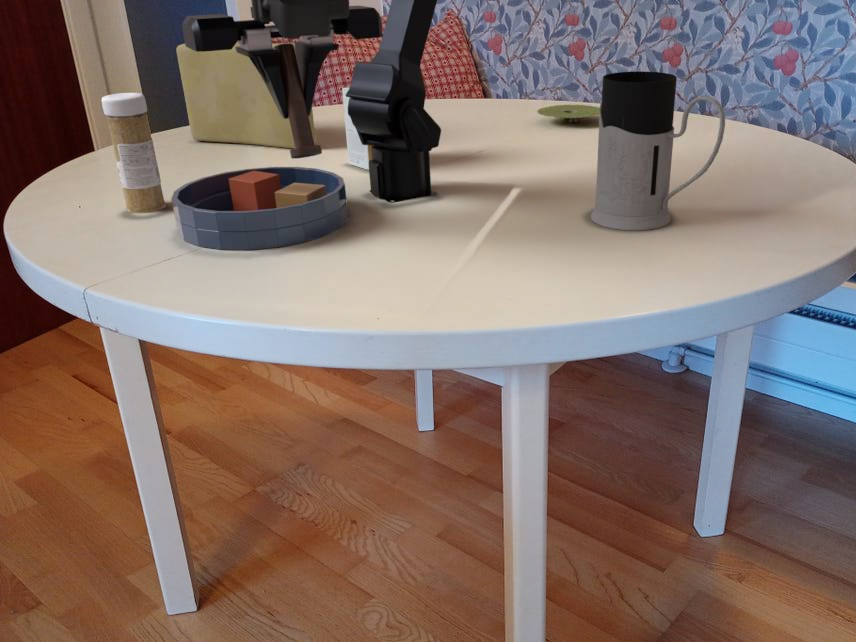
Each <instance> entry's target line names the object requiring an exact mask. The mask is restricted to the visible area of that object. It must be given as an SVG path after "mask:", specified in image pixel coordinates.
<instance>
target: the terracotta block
mask: <svg viewBox="0 0 856 642" xmlns="http://www.w3.org/2000/svg"><path fill="white" fill-rule="evenodd" d="M229 184H230V190H231V196H232V202H233V208H234V211H253V210H265V209H275V208H277V206H276V199H275V192H276V191H278V190H280V189H281V185H280V178H279V174H273V173H266V172H259V171H251V172H248V173H245V174H242V175H239V176H236V177H232V178H229Z"/></svg>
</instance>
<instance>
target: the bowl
mask: <svg viewBox="0 0 856 642" xmlns="http://www.w3.org/2000/svg"><path fill="white" fill-rule="evenodd" d="M251 171H259V172H266V173H273V174H279V178H280V185H281V189H282V188H285V187H287V186H289V185H291V184H293V183H305V184H317V185H326V191H327V195H325V196H323V197H321V198H319V199H315V200H312V201H308V202H305V203H301V204H297V205H292V206H286V207H280V208H275V209H265V210H253V211H234V208H233V202H232V196H231V190H230V184H229V178H232V177H236V176H239V175H242V174H245V173H248V172H251ZM346 191H347V190H346V183H345V181H344V177H342V176H340V175H339V174H337V173H335V172H333V171H328V170H324V169H319V168H314V167H304V166H303V167H302V166H267V167H253V168H245V169H239V170H232V171H225V172H221V173H216V174H213V175H208V176H203V177H201V178H197V179H195V180H193V181H190V182H187V183H185V184H183V185H182V186H180V187H179V188H177V189H175V190H174V191H173V194H172V195H171V198H170V199H171V200H170V201H171V204H172V209H173V214H174V218H175V224H176V228H177V234H178V236H180V237H181V239H182V240H183V241H184V242H186V243H190V244H191V245H194V246H197V247H199V248H206V249H213V250H220V251H221V250H222V251H254V250H265V249H275V248H282V247H287V246H292V245H293V246H294V245H297V244H302V243H307V242H310V241H314V240H316V239H319V238H322V237H326V236H328V235H330V234H332V233H333V232H335V231H337V230H339V229H341V228H342V227H343V226H344V224H345V223H346V222H347V221H348V219H349V213H348V202H347V192H346Z"/></svg>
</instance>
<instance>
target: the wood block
mask: <svg viewBox="0 0 856 642" xmlns="http://www.w3.org/2000/svg"><path fill="white" fill-rule="evenodd" d="M325 195H327V191H326V185H317V184H305V183H293V184H291V185H289V186H287V187H285V188H282V189H280V190H278V191H276V192H275V199H276V206H277V208H280V207H286V206H292V205H297V204H301V203H305V202H308V201H312V200H315V199H319V198H321V197H323V196H325Z"/></svg>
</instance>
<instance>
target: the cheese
mask: <svg viewBox="0 0 856 642" xmlns="http://www.w3.org/2000/svg"><path fill="white" fill-rule="evenodd" d="M286 43H287V42H283V43H282V42H281V43H272V48H274V47H275V46H276V45H280V44H286ZM289 43H290V44H293V45H294V50H295V42H289ZM237 46H239V43H236V44H235V45H234V47H233V48H232V49H231V50H218V51H206V52H196V51H194V50H192V49H190V48H188V47H186V46H185V43H182V44H179V45H177V46H176V56H177V62H178V68H179V73H180V79H181V84H182V90H183V94H184V101H185V106H186V111H187V117H188V118H187V119H188V123H189V129H190V133H191V137H192V140H193V141H197V142H212V143H229V144H230V143H231V144H242V145H243V144H245V145H254V146H255V145H256V146H264V147H265V146H267V147H275V148H284V149H285V148H286V149H294V148H295V145H294V140H293V135H292V131H291V126H290V121H289V117H288V118H287V119H284V118H283V117H282V116H281V114H280V112H279V110H278V108H277V106H276V104H275V102H274V100H273V98H272V96H271V94H270V92H269V90H268V88H267V86H266V84H265V82H264V80H263V79H262V77H261V75H260V74H259V72H258V70H257V69H256V67H255V66H254V64H253V63H252V61H251V60H250V58H249V57H247V56H245V55H242V54H240V53H237V52H236V47H237ZM295 54H296V52H295ZM309 121H310V126H311V131H312V135H313V140H314V145H317V138H316V137H317V136H316V128H315V121H314V113H313V106H312V107H311V112H310V115H309Z"/></svg>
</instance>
